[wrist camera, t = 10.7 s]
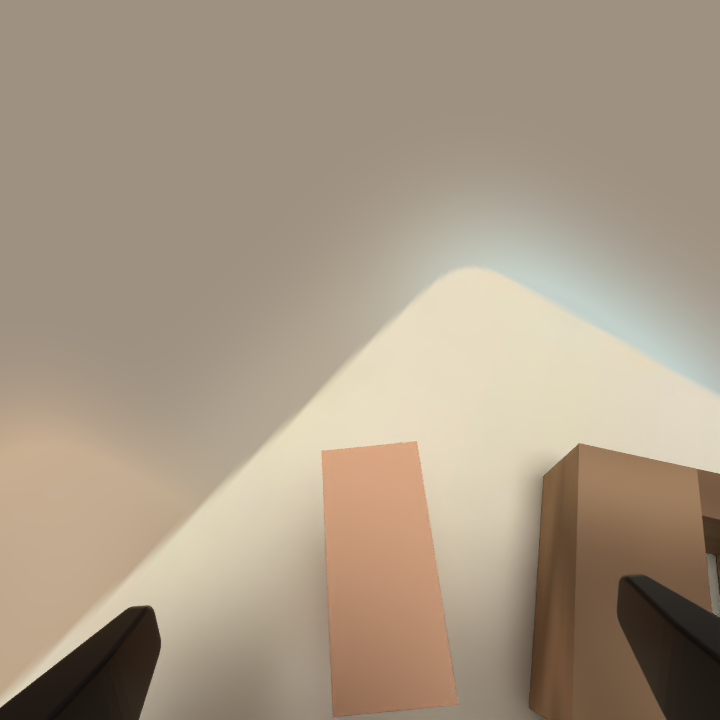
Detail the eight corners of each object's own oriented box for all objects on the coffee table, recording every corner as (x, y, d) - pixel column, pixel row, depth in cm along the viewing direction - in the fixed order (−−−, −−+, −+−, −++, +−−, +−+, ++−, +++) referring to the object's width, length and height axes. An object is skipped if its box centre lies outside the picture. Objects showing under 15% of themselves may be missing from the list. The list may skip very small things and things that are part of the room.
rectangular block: (420, 657, 16) (458, 704, 7) (363, 662, 16) (333, 717, 7) (403, 526, 18) (416, 441, 9) (354, 531, 18) (321, 451, 9)
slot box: (879, 820, 13) (1056, 894, 10) (529, 707, 15) (571, 735, 11) (817, 539, 17) (928, 519, 13) (543, 475, 19) (579, 443, 15)
